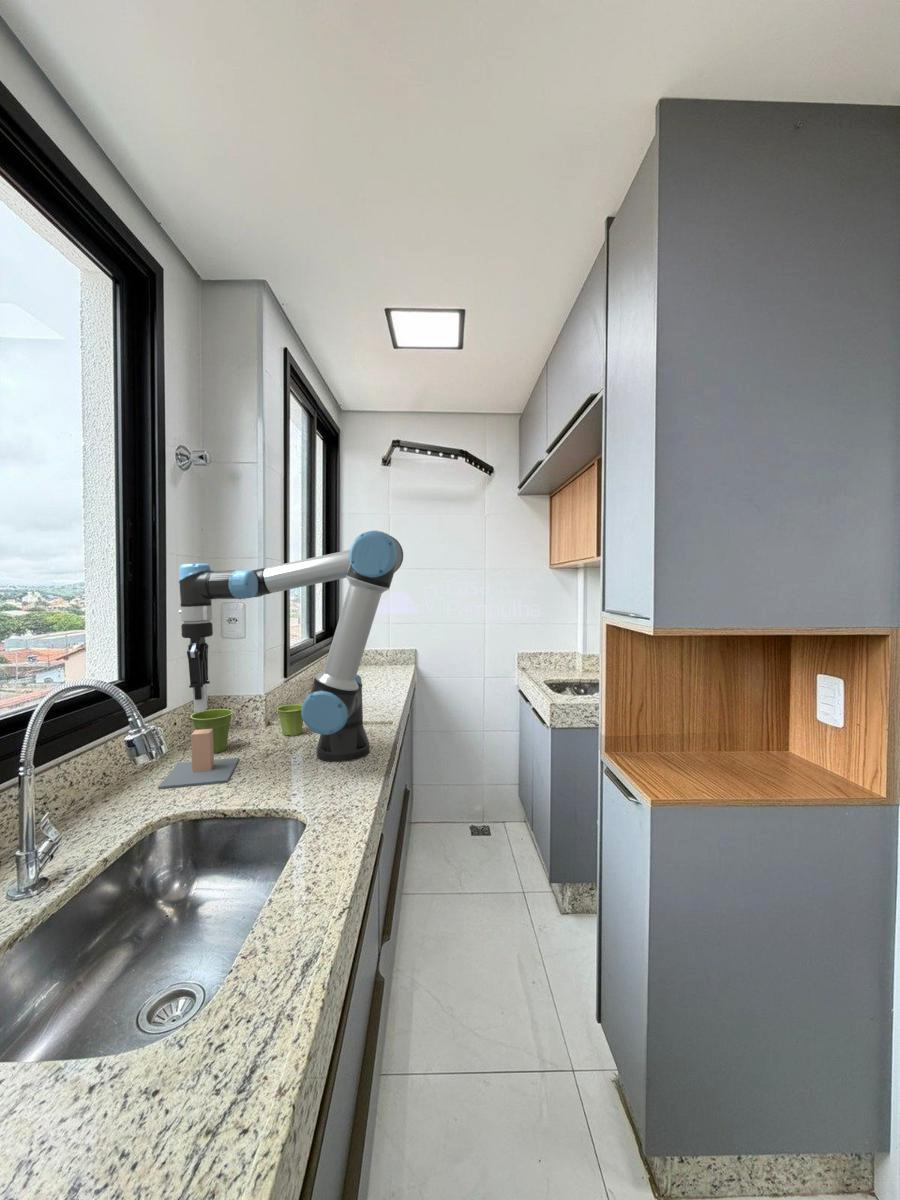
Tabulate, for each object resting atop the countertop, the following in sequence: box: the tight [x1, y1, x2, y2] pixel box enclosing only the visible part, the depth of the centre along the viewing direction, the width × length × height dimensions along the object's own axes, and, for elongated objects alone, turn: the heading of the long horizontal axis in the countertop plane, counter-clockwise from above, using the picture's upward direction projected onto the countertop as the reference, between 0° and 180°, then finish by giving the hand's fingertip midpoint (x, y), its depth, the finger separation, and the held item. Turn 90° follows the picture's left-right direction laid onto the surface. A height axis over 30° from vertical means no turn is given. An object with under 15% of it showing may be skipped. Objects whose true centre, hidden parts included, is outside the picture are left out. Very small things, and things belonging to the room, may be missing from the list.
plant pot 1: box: [189, 708, 234, 754], centre depth 164 cm, size 12×12×11 cm
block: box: [190, 729, 215, 772], centre depth 147 cm, size 4×4×10 cm
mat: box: [157, 757, 240, 790], centre depth 145 cm, size 16×18×1 cm
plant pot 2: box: [276, 704, 304, 737], centre depth 181 cm, size 9×9×9 cm
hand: (200, 709), depth 146 cm, fingers open, 2 cm apart
